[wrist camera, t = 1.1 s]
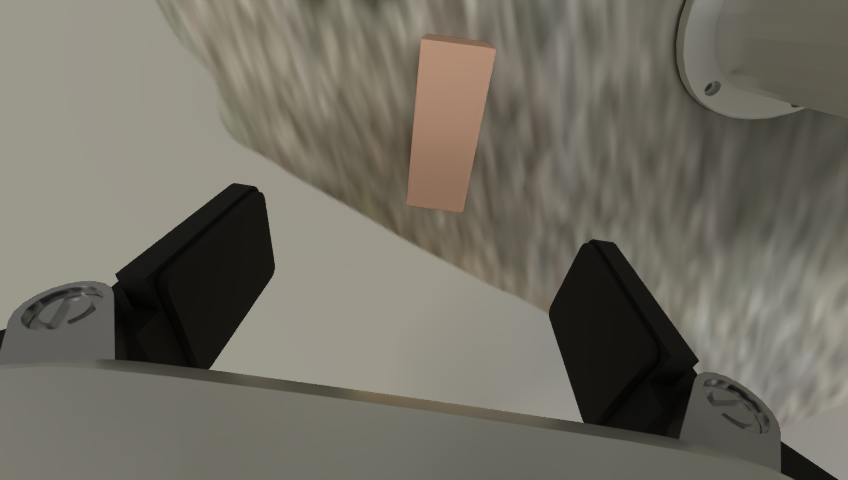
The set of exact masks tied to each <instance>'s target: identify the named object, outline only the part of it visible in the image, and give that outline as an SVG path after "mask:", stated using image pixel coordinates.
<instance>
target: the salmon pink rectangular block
mask: <svg viewBox="0 0 848 480" xmlns="http://www.w3.org/2000/svg"><path fill="white" fill-rule="evenodd" d="M495 54H496V48H495V47H494V46H493V45H491V44H490V43H489V42H484V41H477V40H469V39H462V38H454V37H447V36H439V35H432V34H427V35H425V36H424V37H423V38H422V39H421V45H420V56H419V68H418V79H417V90H416V101H415V112H414V123H413V135H412V146H411V157H410V168H409V179H408V191H407V202H406V205H408V206H416V207H423V208H431V209H438V210H446V211H453V212H461V213H463V210H464V205H465V201H466V196H467V191H468V186H469V181H470V176H471V171H472V166H473V161H474V157H475V152H476V147H477V142H478V137H479V132H480V127H481V122H482V117H483V113H484V108H485V103H486V98H487V93H488V88H489V83H490V78H491V74H492V69H493V64H494V59H495Z"/></svg>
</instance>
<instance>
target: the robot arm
mask: <svg viewBox="0 0 848 480" xmlns="http://www.w3.org/2000/svg"><path fill="white" fill-rule="evenodd" d="M676 53H677V65H678V69H679V73H680V77H681V80H682V82H683V84H684V85H685V87H686V89H687V91H688V93H689V94H690V95H691V96H692V97H693V98H694V99H695V100H696V101H697V102H698V103H699V104H701V105H702V106H704V107H706V108H708V109H710V110H712V111H713V112H716V113H719V114H722V115H725V116H728V117H731V118H738V119H746V120H754V119H769V118H774V117H778V116H783V115H788V114H791V113H794V112H797V111H800V110H803V109H805V108H809V109H813V110H816V111H820V112H824V113H827V114H831V115H835V116H838V117H842V118H846V119H848V0H686V3H685V6H684V9H683V12H682V15H681V18H680V22H679V28H678V34H677V40H676ZM706 86H707V87H706ZM274 270H275V263H274V256H273V249H272V244H271V236H270V229H269V223H268V217H267V210H266V203H265V198H264V195H263V193H262V192H259V191H258V189H257V188H256V187H255V186H249V185H242V184H236V183H233V184H231V185H230V186H228V187H227V188H226V189H225V190H223V191H222V192H221V193H219V194H218V195H217V196H215V197H214V198H213V199H212V200H210V201H209V202H208V203H206V204H205V205H204V206H203V207H201V208H200V209H199V210H197V211H196V212H195V213H194V214H192V215H191V216H190V217H188V218H187V219H186V220H185V221H183V222H182V223H181V224H179V225H178V226H177V227H175V228H174V229H173V230H172V231H170V232H169V233H168V234H166V235H165V236H164V237H163V238H162V239H160V240H159V241H157V242H156V243H155V244H153V245H152V246H151V247H150V248H148V249H147V250H146V251H145V252H143V253H142V254H141V255H139V256H138V257H137V258H135V259H134V260H133V261H132V262H130V263H129V264H128V265H127V266H125V267H124V268H123V269H121V270H120V271H119V272H118V273H116V274H115V275H116V277H117V279H118V280H119V281H118V282H117V283H116V284H115V285H113V286H112V287H110V286H108V285H106V284H105V283H101V282H96V281H82V282H75V283H69V284H65V285H61V286H58V287H55V288H51V289H49V290H47V291H45V292H42V293H40V294H38V295H36V296H34V297H32V298H31V299H29V300H28V301H26V302H24V303H23V304H22V305H21V306H20V307H19V308H17V309H16V310H15V311H14V312H13V314H12V316H11V317H10V319H9V321H8V325H7V328H6V329H4V330H1V331H0V480H838V479H836V478H835V477H833V476H832V475H830V474H829V473H827V472H826V471H824V470H823V469H821V468H820V467H818V466H817V465H815V464H814V463H813V462H811V461H810V460H808V459H807V458H805V457H804V456H802V455H801V454H799V453H798V452H796V451H795V450H793V449H792V448H790V447H789V446H787V445H786V444H784V443H783V442H781V440H780V439H781V436H780V435H781V433H780V428H779V424H778V422H777V420H776V418H775V417H774V415H773V413H772V412H771V411H770V409H769V408H768V407H767V406H766V405H765V404H764V403H763V401H762V400H760V399H759V398H758V397H757V396H756V395H755V394H753V393H752V392H751V391H750V390H748V389H747V388H745V387H744V386H742V385H741V384H739V383H738V382H736V381H734V380H732V379H730V378H728V377H726V376H723V375H720V374H717V373H710V372H704V373H701V374H698V375H697V373H696V372H695V370H694V369H693V366H694V365H696V364H697V363H698V362H699V360H698V359H697V357H696V356H695V354H694V353H693V352H692V350H691V349H690V348H689V346H688V345H687V343H686V342H685V341H684V339H683V338H682V336H681V335H680V334H679V332H678V331H677V329H676V328H675V327H674V325H673V324H672V322H671V321H670V320H669V318H668V317H667V315H666V314H665V313H664V311H663V310H662V308H661V307H660V306H659V304H658V303H657V301H656V300H655V299H654V297H653V296H652V294H651V293H650V292H649V290H648V289H647V288H646V286H645V285H644V283H643V282H642V281H641V279H640V278H639V276H638V275H637V274H636V272H635V271H634V269H633V268H632V267H631V265H630V264H629V262H628V261H627V260H626V258H625V257H624V255H623V254H622V253H621V251H620V250H619V248H618V247H617V246H616V244H614V243H613V242H607V241H601V240H594V239H593V240H590V241H589V242H588V243H584V244H583V245H582V246H581V248H580V250H579V252H578V254H577V256H576V257H575V259H574V261H573V263H572V265H571V267H570V269H569V271H568V273H567V275H566V277H565V279H564V281H563V283H562V285H561V287H560V289H559V291H558V293H557V295H556V297H555V299H554V301H553V303H552V305H551V307H550V310H549V318H550V321H551V324H552V328H553V331H554V334H555V337H556V340H557V343H558V346H559V349H560V352H561V355H562V358H563V361H564V365H565V368H566V371H567V373H568V377H569V380H570V383H571V386H572V389H573V392H574V395H575V398H576V402H577V405H578V408H579V411H580V414H581V417H582V420H583V422H584V423H580V422H574V421H567V420H560V419H554V418H546V417H540V416H533V415H526V414H520V413H513V412H506V411H499V410H493V409H485V408H479V407H472V406H465V405H458V404H451V403H444V402H437V401H430V400H424V399H416V398H409V397H403V396H395V395H388V394H381V393H374V392H367V391H360V390H353V389H346V388H339V387H331V386H324V385H317V384H309V383H303V382H295V381H288V380H281V379H273V378H265V377H259V376H252V375H243V374H237V373H230V372H222V371H214V370H208V369H209V368H210V367H211V366H212V365H213V363H214V362H215V360H216V359H217V357H218V356H219V354H220V353H221V351H222V349H223V348H224V347H225V345H226V344H227V342H228V341H229V340H230V338H231V337H232V335H233V334H234V332H235V331H236V329H237V328H238V326H239V325H240V323H241V322H242V320H243V319H244V318H245V316H246V315H247V313H248V312H249V310H250V309H251V307H252V306H253V304H254V303H255V301H256V300H257V298H258V297H259V295H260V294H261V292H262V291H263V290H264V288H265V287H266V285H267V284H268V282H269V281H270V279H271V278H272V276H273V273H274Z"/></svg>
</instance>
